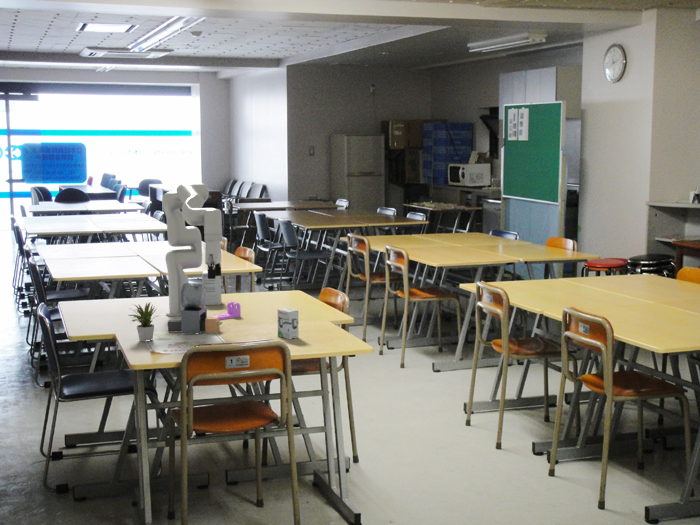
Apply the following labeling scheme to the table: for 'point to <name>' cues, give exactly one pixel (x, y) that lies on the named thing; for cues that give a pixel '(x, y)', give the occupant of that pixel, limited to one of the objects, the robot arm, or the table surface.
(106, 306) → the table surface
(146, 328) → the house plant
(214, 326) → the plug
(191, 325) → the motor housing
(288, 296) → the table surface
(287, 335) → the ink box
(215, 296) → the supplement box
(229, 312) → the bracket
